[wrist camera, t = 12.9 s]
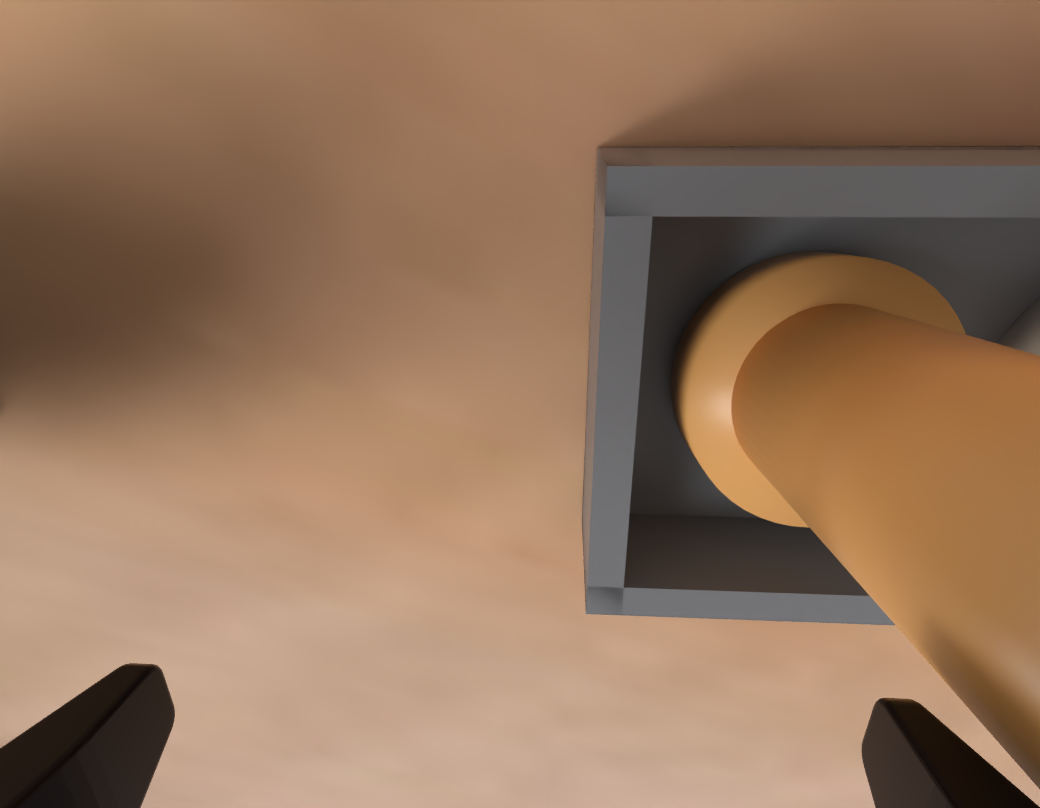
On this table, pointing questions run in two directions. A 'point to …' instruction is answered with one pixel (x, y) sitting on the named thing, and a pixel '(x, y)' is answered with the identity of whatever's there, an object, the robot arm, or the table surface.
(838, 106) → the table surface
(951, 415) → the mushroom shaped handle
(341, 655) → the table surface
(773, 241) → the grey storage tray
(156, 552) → the table surface
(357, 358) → the table surface
